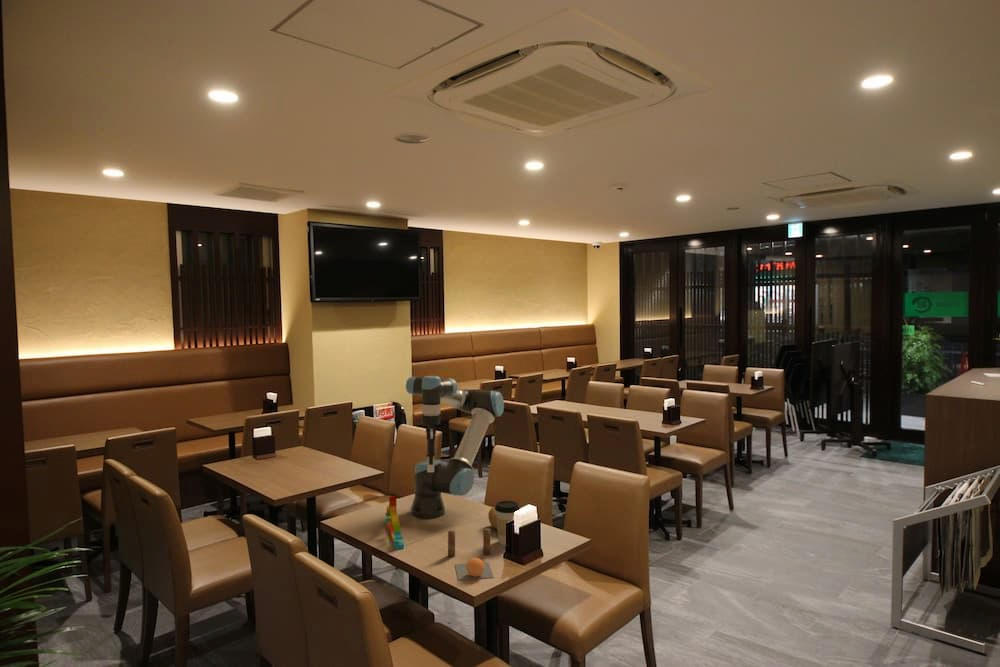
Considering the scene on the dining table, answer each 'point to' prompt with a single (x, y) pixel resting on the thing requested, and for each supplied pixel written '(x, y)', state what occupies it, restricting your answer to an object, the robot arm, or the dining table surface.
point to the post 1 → (451, 543)
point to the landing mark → (464, 575)
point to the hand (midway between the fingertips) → (430, 471)
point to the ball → (475, 567)
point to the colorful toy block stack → (394, 524)
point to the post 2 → (486, 541)
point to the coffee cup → (504, 517)
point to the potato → (492, 517)
